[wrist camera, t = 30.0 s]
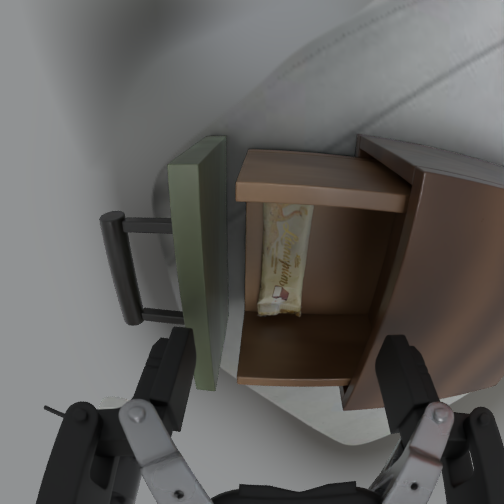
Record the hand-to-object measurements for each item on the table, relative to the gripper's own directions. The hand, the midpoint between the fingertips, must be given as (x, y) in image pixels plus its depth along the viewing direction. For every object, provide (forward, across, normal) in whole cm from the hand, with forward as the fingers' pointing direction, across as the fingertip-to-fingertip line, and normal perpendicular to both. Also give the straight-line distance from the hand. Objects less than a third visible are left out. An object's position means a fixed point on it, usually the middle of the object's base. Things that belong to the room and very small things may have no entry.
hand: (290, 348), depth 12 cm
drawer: (+9, +1, 0) cm, 9 cm away
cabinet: (+10, -11, 0) cm, 15 cm away
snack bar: (+8, 0, 0) cm, 8 cm away
